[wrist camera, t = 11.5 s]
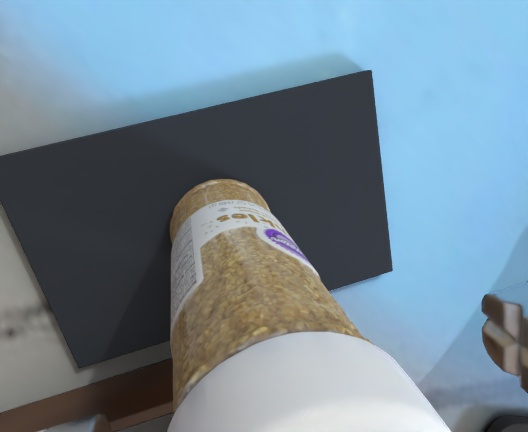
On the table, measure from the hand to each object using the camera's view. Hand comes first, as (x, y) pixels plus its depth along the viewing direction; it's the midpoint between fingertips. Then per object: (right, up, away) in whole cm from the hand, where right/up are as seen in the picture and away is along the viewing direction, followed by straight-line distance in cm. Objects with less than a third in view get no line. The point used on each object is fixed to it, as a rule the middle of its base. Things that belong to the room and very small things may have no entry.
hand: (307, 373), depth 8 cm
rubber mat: (-3, +3, +10) cm, 11 cm away
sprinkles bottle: (-3, +3, +10) cm, 11 cm away
